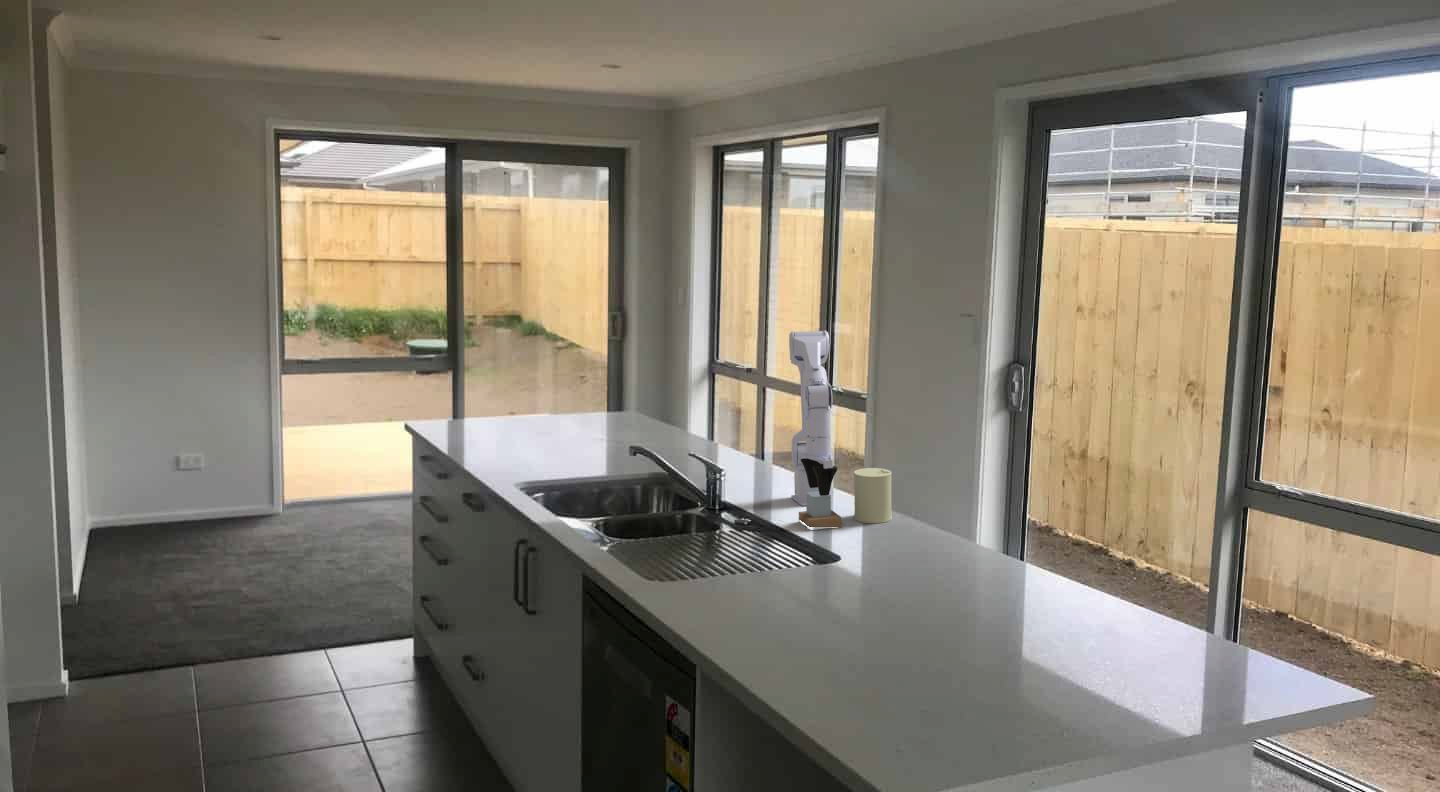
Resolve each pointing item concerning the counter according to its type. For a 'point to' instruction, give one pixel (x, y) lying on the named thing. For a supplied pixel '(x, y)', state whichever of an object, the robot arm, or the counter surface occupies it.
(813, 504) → the block
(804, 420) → the robot arm
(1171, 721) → the counter surface
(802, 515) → the slab
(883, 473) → the can
